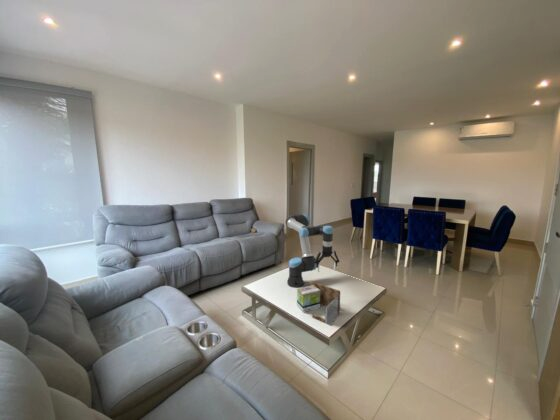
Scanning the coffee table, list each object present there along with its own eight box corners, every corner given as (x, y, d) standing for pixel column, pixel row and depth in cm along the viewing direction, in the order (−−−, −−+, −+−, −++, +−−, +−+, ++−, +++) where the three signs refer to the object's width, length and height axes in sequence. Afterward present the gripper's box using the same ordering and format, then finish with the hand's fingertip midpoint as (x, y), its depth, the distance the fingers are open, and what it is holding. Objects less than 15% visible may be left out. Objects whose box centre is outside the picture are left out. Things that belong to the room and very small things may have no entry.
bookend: (325, 323, 157) (325, 307, 155) (336, 310, 171) (337, 295, 169) (330, 325, 155) (330, 309, 153) (341, 312, 169) (342, 297, 167)
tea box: (303, 313, 169) (303, 294, 166) (296, 305, 178) (296, 288, 175) (320, 308, 175) (320, 290, 172) (313, 301, 184) (313, 284, 181)
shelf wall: (296, 310, 172) (296, 290, 169) (309, 298, 187) (309, 280, 184) (327, 324, 156) (328, 303, 153) (339, 310, 171) (340, 290, 168)
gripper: (313, 247, 175) (312, 273, 179) (344, 246, 178) (343, 271, 182) (310, 244, 182) (310, 269, 186) (340, 243, 185) (339, 267, 189)
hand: (326, 270), depth 184 cm, fingers open, 13 cm apart
